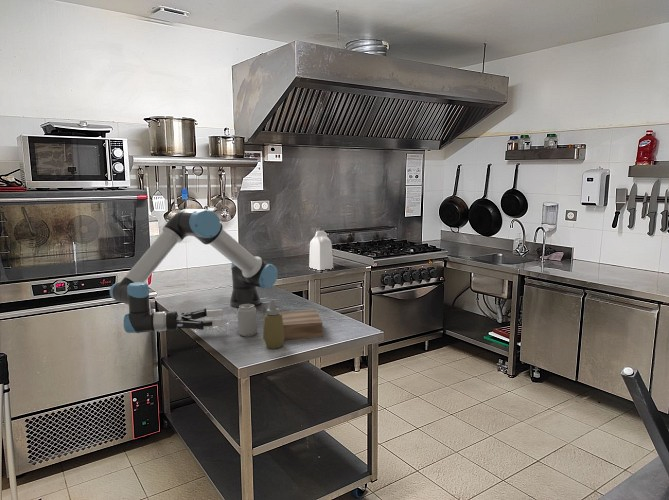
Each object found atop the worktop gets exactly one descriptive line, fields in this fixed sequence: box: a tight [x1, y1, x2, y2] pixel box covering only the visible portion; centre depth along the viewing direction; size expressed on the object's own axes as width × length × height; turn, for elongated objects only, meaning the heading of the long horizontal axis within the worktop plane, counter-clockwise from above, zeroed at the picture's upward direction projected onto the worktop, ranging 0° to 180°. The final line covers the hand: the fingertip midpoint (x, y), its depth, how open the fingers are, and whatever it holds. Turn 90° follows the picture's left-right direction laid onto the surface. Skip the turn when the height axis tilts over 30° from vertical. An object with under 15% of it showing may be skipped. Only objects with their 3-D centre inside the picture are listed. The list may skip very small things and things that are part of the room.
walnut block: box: [279, 309, 324, 341], centre depth 196 cm, size 18×18×6 cm
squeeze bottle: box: [262, 299, 285, 349], centre depth 178 cm, size 8×8×18 cm
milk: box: [308, 230, 334, 271], centre depth 324 cm, size 12×12×26 cm
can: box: [237, 304, 258, 337], centre depth 194 cm, size 8×8×12 cm
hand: (222, 317), depth 192 cm, fingers open, 13 cm apart
